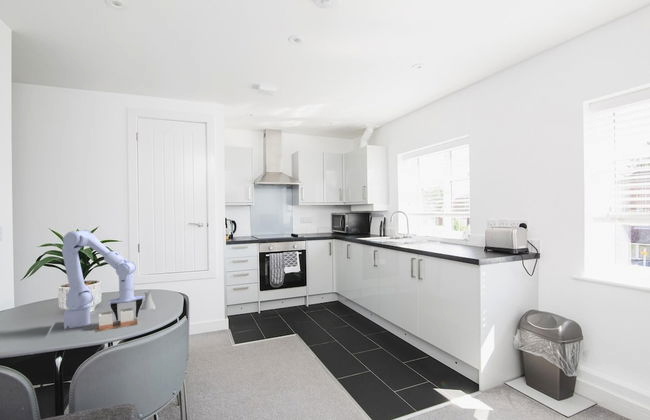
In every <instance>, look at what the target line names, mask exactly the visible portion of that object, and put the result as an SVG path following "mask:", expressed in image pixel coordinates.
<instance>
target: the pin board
mask: <svg viewBox="0 0 650 420" xmlns="http://www.w3.org/2000/svg"><path fill="white" fill-rule="evenodd" d="M137 318H138V317H135V318H134V324H128V325H123V326H121V320H117V321H116V320H115V321H113V327H111V328H105V329H100V330H99V323H98V324H96V325H95V327H94V333H99V332H103V331H109V330H114V329H115V330H116V329H120V328H127V327H128V328H129V327H133V326H138V319H137Z"/></svg>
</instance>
